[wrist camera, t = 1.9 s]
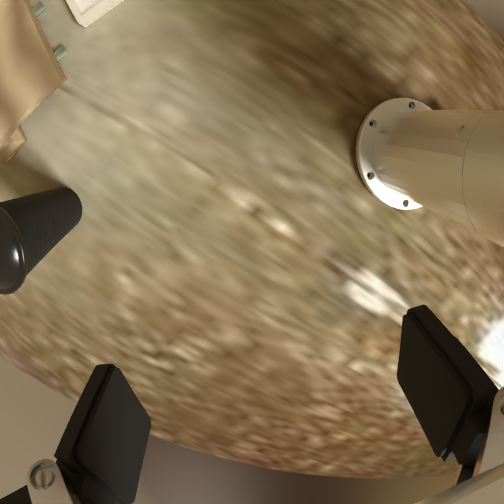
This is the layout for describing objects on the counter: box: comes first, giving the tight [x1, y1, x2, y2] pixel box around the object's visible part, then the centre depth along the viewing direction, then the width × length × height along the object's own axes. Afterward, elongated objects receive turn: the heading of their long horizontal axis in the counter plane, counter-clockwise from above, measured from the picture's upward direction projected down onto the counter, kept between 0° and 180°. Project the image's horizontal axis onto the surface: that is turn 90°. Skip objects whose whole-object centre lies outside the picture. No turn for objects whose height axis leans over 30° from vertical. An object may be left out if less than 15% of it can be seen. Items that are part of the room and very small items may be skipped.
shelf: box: [0, 0, 69, 163], centre depth 21 cm, size 14×20×6 cm
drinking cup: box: [0, 188, 82, 294], centre depth 21 cm, size 8×8×20 cm
